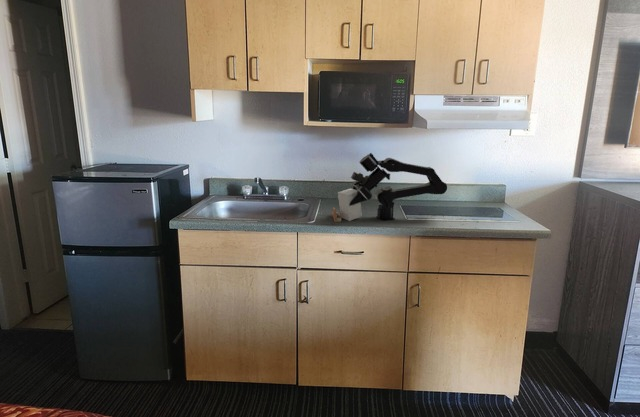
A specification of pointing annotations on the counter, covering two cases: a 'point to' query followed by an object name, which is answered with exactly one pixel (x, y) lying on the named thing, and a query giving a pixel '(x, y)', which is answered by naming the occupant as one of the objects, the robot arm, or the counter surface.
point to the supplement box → (346, 209)
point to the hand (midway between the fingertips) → (348, 202)
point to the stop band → (336, 216)
